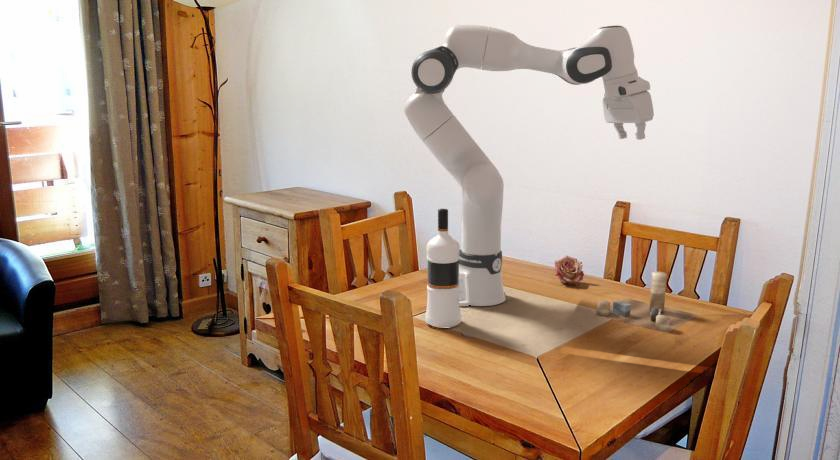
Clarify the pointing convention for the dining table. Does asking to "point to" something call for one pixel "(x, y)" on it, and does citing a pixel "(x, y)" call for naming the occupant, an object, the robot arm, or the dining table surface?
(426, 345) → the dining table surface
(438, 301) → the vodka
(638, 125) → the robot arm
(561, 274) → the flower
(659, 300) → the leg
